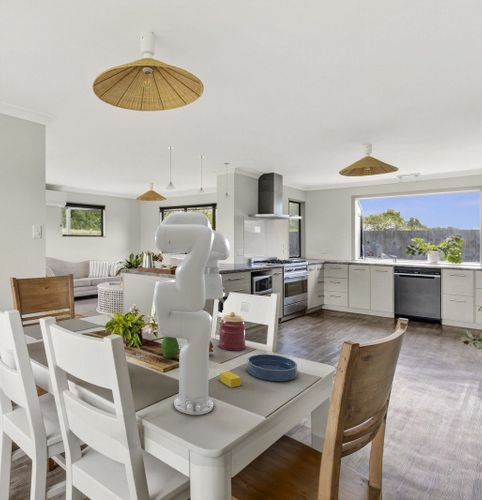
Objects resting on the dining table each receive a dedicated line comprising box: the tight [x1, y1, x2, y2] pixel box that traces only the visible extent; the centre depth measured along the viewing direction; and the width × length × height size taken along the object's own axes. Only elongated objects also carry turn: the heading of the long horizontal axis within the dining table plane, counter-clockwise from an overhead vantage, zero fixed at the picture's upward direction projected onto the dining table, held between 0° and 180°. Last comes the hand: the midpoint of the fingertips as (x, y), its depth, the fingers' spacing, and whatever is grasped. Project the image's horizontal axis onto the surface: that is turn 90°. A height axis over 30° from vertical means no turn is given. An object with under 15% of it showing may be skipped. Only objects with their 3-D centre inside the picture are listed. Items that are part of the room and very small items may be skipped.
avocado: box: [160, 336, 180, 360], centre depth 163 cm, size 8×8×12 cm
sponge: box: [219, 370, 242, 388], centre depth 136 cm, size 7×4×3 cm, turn 25°
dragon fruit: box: [209, 340, 214, 353], centre depth 167 cm, size 8×8×12 cm
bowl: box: [246, 353, 298, 382], centre depth 147 cm, size 19×19×4 cm
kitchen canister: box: [218, 311, 247, 351], centre depth 180 cm, size 13×13×18 cm
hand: (209, 312), depth 149 cm, fingers open, 9 cm apart
